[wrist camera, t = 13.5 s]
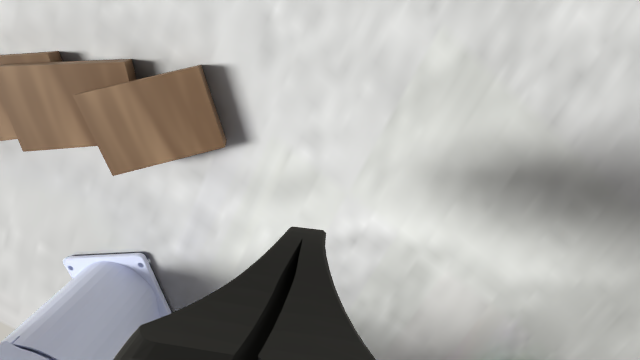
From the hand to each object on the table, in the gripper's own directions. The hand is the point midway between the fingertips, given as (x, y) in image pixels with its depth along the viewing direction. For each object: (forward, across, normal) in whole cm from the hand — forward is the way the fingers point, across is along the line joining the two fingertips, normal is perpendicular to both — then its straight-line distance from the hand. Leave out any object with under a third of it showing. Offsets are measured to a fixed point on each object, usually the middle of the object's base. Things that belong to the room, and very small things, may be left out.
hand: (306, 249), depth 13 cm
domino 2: (+10, +13, -2) cm, 16 cm away
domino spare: (+10, +8, -3) cm, 13 cm away
